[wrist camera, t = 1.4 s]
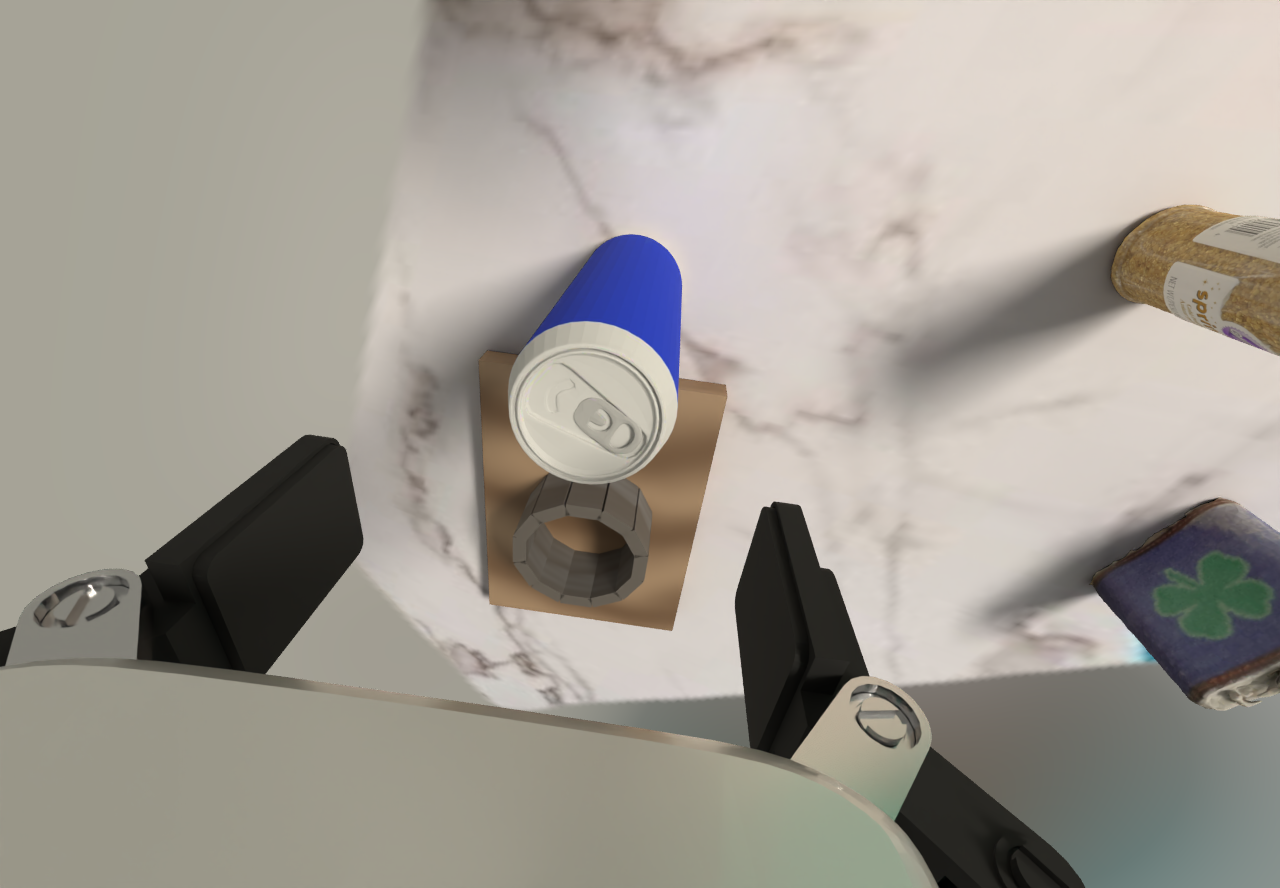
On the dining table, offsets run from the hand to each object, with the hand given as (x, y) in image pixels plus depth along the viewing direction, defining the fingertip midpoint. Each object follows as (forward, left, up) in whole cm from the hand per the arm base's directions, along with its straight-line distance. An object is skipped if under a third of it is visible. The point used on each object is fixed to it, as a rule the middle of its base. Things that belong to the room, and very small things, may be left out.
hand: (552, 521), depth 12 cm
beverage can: (0, 0, -19) cm, 19 cm away
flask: (+12, +36, -19) cm, 43 cm away
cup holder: (+15, -1, -19) cm, 24 cm away
